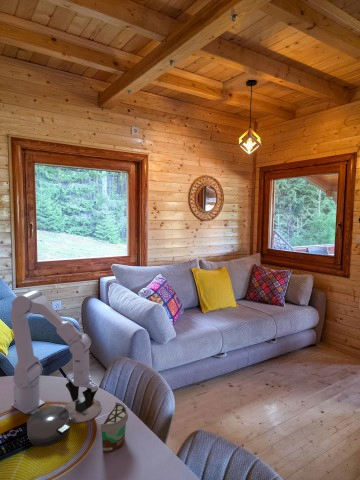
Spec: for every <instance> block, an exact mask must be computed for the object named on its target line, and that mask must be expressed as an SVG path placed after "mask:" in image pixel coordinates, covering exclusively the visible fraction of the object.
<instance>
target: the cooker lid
mask: <svg viewBox="0 0 360 480" xmlns="http://www.w3.org/2000/svg"><path fill="white" fill-rule="evenodd" d="M63 407H64V408H66V409H67V410H68V412H69V423H73V424H78V423H85V422H88V421H91V420H93V419H94V418H96V417H97V416H98V415H99V414H100V412H101V410H102V403H101V402H100V401H99V400H98V399H96V398H94V399H93V403H92V406H91V407H90V408H88V409H87V408H86V404H85V398H84V395H83V396H82V397H79V398H78V399H77V400H76V401H74V402H73V401H70V402H68V403H67V404H66V405H64V406H63Z"/></svg>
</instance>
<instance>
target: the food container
mask: <svg viewBox="0 0 360 480" xmlns="http://www.w3.org/2000/svg"><path fill="white" fill-rule="evenodd" d="M128 420H129V413H128V409H127V408H126V406H125V405H124V404H122V403H120V402H117V401H116V402H115V406H114V408H113V409H112V411H110V412H109V414H108V415H107V418H106V419H105V420H104V422H103V423H100V429H99V430H100V431H99V432H101V433H100V434H101V446H102V453H103V454H104V453H106V454H107V453H109V454H110V453H113V452H116V451H119V450H120V449H121V448H122V447H123V446H124V445H125V439H126V426H127V425H126V424H127V422H128Z"/></svg>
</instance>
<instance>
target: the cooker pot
mask: <svg viewBox="0 0 360 480" xmlns="http://www.w3.org/2000/svg"><path fill="white" fill-rule="evenodd" d="M64 407H65V406H59V405H52V406H47V407H43V408H40V409H39V407H37V408H35V409H34V410H32V411H30V412H28V416H29V417H28V419H27V421H26V432H27V435H26V436H28V438H27V440H28V439H29V440H30V442H31V443H32V444H31V445H32V446H34V447H46V446H47V447H48V446H51V445H55V444H56V443H58V442H60V441H61V440H63V439H64V438H65V437H66V436H67V435H68V433H69V431H70V430H71V426H70V422H69V412H68V410H67V409H66V408H64Z"/></svg>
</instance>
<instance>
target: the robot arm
mask: <svg viewBox="0 0 360 480" xmlns="http://www.w3.org/2000/svg"><path fill="white" fill-rule="evenodd" d="M30 314H40V315H41V316H43V318H45V319H46V320H47V321H48V322H49V323H50V324H51V325H53V326H54V327H55V328H56V334H57V335H58V336H59V337H60V338H61V339H62V340H64V342H65V343H66V344H67V345H68V346H69V349H68V350H69V352H70V354H71V355H72V373H69V374H67V375H66V381H68V382H67V383H66V384H65V387H66V388H67V390H68V392H69V395H70V398H71V400H72V401H73V402H74V401H76V400H77V399H79V395H80V394H79V393H80V391H79V389H80V388H86V389H85V390H84V391H82V392H81V393H82V394H83V396H84V398H85V404H86V408H87V409H88V408H90V407H91V406H92V403H93V399H95V395H96V393H97V392H98V390H99V388H98V384H96V383H95V382H94V381H93V379H92V375H90V349H89V348H90V347H91V344H92V339H91V338H90V335H88V334H87V333H83V332H81V331H80V330H78V329H77V328H76V327H75V324H74V323H73V322H70V321H69V320H64V319H63V318H62V317H61V315H59V313H58V312H57V311H56V310H55V309H54V308H53V306H52V305H51V304H50V303H49V302H48V298H47V296H45V294H43V292H42V291H40V290H39V289H32V290H30V291H28V292H26V293H23V294H20V295H18V296H16V297H15V298H14V299H13V300H12V301H11V310H10V315H9V316H10V321H11V328H12V332H13V339H14V345H15V350H16V356H17V362H16V365H15V366H14V369H13V371H14V375H13V383H14V386H13V403H11V406H12V407H14V409H16V410H18V411H20V412H22V413H23V414H29V412H30V411H32V410H34V409H35V408H39V407H40V406H43V405H45V403H46V402H45V401H44V400H42V399H41V398H40V397H41V396H40V375H42V374H43V373H42V372H43V370H44V369H43V365H42V364H41V362H40V360H39V359H40V358H39V357H38V356H35V355H34V347H33V341H32V335H31V330H30V324H29V320H28V319H29V318H28V316H29V315H30ZM72 401H71V402H72Z"/></svg>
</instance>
